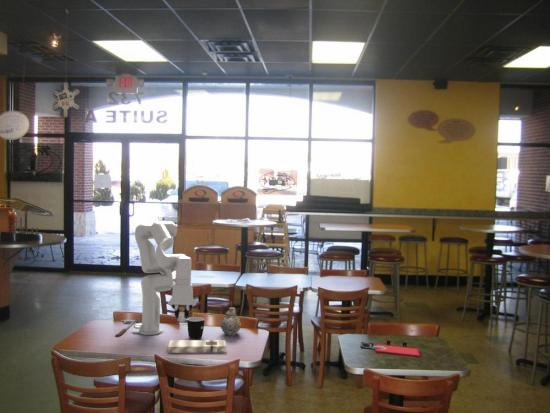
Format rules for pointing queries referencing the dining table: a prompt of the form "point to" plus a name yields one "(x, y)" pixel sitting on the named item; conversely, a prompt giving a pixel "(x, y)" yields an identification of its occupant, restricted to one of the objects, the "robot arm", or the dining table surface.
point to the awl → (181, 313)
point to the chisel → (127, 326)
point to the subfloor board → (196, 346)
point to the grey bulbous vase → (230, 322)
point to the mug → (195, 327)
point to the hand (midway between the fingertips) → (181, 317)
